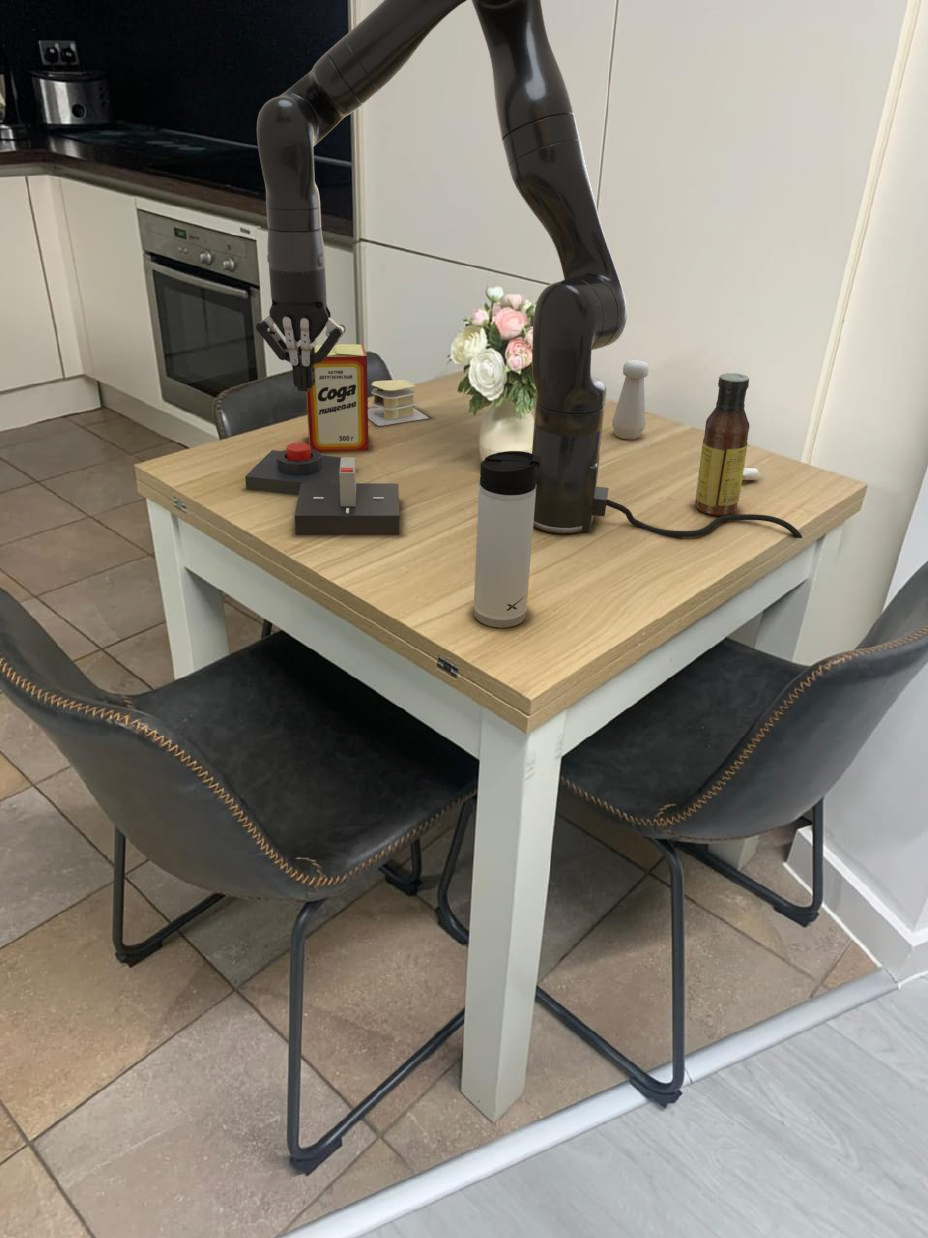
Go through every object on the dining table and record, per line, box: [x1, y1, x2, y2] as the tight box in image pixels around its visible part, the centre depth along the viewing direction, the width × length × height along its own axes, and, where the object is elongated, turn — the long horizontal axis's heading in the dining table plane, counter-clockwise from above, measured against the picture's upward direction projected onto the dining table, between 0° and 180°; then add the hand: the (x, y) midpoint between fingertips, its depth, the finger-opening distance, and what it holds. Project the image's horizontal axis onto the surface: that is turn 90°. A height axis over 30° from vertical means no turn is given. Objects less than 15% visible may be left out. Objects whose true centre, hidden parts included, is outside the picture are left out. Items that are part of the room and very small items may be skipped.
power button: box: [285, 442, 311, 461], centre depth 142 cm, size 4×4×2 cm
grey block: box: [339, 456, 357, 506], centre depth 131 cm, size 6×2×5 cm, turn 4°
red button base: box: [244, 449, 342, 496], centre depth 143 cm, size 13×11×4 cm
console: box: [294, 482, 400, 536], centre depth 133 cm, size 14×11×3 cm
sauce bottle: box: [695, 372, 750, 517], centre depth 136 cm, size 6×6×20 cm
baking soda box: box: [305, 343, 370, 453], centre depth 154 cm, size 10×6×16 cm
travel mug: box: [473, 450, 542, 629], centre depth 107 cm, size 6×7×20 cm
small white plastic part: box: [742, 465, 760, 481], centre depth 149 cm, size 4×6×3 cm, turn 89°
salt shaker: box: [611, 359, 650, 441], centre depth 163 cm, size 6×6×13 cm
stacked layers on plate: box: [368, 379, 429, 427], centre depth 170 cm, size 10×9×6 cm
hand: (304, 389), depth 137 cm, fingers closed
